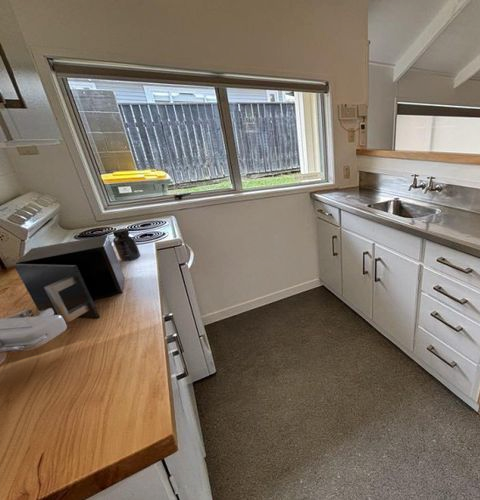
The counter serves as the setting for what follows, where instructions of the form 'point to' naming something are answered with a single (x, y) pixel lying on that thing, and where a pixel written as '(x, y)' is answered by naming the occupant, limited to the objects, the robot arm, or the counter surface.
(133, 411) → the counter surface
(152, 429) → the counter surface
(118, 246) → the supplement bottle
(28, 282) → the cupboard door
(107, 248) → the cupboard
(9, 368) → the counter surface
